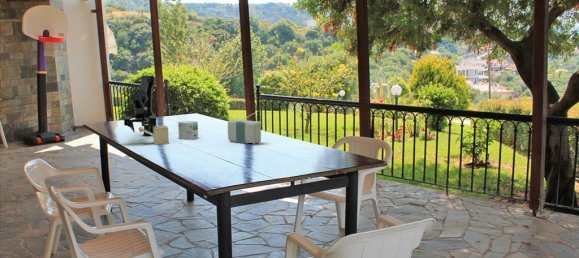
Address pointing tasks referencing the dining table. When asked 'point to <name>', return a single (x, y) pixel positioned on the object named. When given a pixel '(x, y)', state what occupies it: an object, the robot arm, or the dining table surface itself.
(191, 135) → the light bulb box
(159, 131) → the kraft carton
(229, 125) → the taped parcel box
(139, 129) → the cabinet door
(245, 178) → the dining table surface
